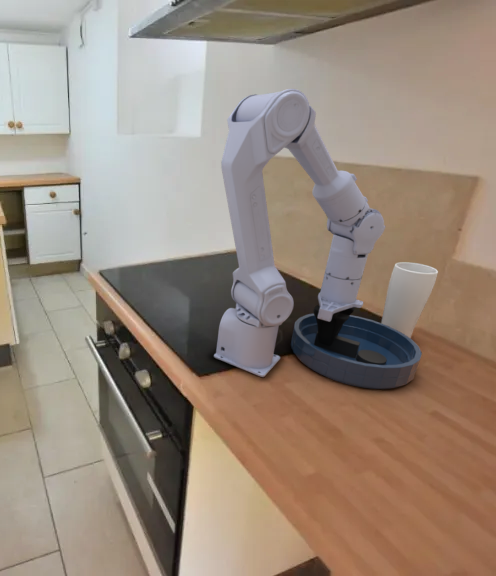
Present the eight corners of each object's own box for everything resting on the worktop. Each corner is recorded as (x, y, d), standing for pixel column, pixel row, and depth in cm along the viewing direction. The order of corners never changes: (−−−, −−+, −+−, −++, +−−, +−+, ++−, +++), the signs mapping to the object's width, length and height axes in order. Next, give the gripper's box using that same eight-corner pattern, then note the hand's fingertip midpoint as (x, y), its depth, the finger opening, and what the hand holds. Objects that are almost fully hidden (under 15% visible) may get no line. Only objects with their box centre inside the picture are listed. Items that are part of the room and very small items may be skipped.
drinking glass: (401, 329, 80) (423, 262, 74) (422, 346, 74) (448, 274, 68) (367, 328, 81) (387, 261, 75) (385, 344, 75) (408, 273, 69)
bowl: (274, 359, 70) (278, 338, 68) (308, 322, 83) (312, 304, 81) (404, 407, 58) (413, 383, 56) (419, 355, 71) (427, 334, 69)
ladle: (311, 348, 72) (314, 335, 71) (318, 339, 75) (321, 327, 74) (382, 372, 65) (387, 358, 64) (387, 361, 68) (391, 347, 67)
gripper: (359, 292, 59) (339, 365, 65) (377, 269, 69) (359, 334, 75) (311, 281, 64) (296, 350, 69) (335, 261, 74) (320, 322, 79)
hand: (326, 341), depth 72 cm, fingers closed
